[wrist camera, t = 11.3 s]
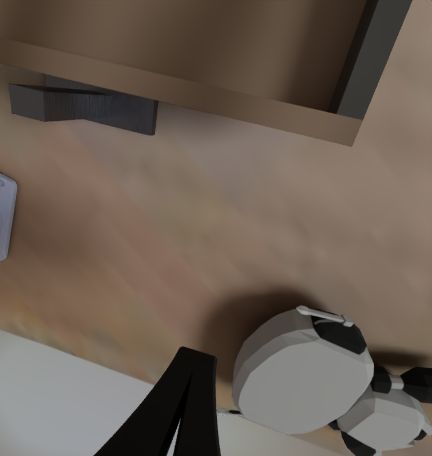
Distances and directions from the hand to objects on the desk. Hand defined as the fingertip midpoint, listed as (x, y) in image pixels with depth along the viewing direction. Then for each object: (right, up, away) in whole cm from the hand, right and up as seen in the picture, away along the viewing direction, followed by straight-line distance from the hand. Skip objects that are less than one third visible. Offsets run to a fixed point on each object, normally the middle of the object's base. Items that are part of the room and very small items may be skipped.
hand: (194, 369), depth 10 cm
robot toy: (+10, -6, +12) cm, 17 cm away
